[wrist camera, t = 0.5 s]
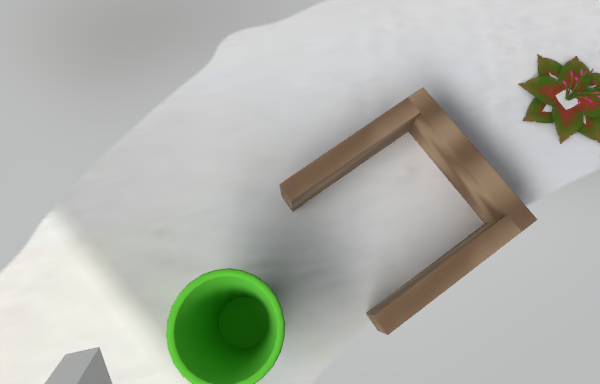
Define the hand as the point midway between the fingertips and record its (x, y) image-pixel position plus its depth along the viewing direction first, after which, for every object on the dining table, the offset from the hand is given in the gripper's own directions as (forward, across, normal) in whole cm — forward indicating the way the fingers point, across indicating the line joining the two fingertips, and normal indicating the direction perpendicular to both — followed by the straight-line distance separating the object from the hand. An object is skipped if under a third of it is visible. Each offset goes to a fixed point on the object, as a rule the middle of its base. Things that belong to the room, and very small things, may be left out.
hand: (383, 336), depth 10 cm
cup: (+30, +8, +16) cm, 35 cm away
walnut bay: (+33, -11, +9) cm, 36 cm away
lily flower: (+38, -33, +2) cm, 50 cm away
